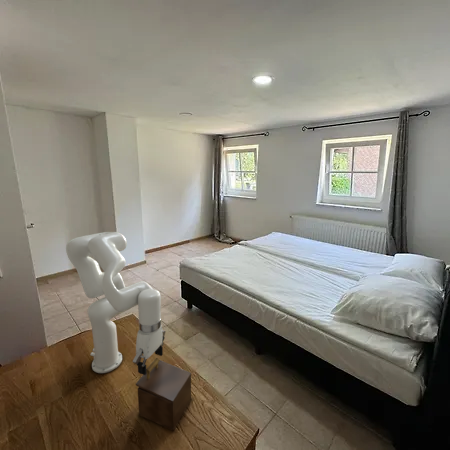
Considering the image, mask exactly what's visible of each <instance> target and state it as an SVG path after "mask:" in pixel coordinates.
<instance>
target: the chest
mask: <svg viewBox="0 0 450 450" xmlns="http://www.w3.org/2000/svg"><path fill="white" fill-rule="evenodd" d="M191 400H192V374H191V375H190V377H189V379H188V380H187V382H186V383H185V385H184V386H183V388H182V390H181V391H180V393H179V394H178V396H177V397H176V399H175V401H174V402H173V403H172V402H170V401H167V400H165V399H163V398H161V397H159V396H157V395H155V394H153V393H151V392H148V391H146V390H144V389H142V388H140V387H137V401H138V416H140V417H142V418H145V419H147V420H149V421H151V422H154V423H156V424H158V425H159V426H162V427H164V428H167V429H168V430H171V431H175V429H176V427H177V425H178V424H179V422H180V420H181V418H182V416H183V414H184V413H185V411H186V410H187V408H188V406H189V405H190V402H191Z"/></svg>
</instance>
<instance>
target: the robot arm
mask: <svg viewBox="0 0 450 450" xmlns="http://www.w3.org/2000/svg"><path fill="white" fill-rule="evenodd" d="M127 245H128V241H127V239H126V237H125V236H124V235H123V234H122V233H121V232H118V231H104V232H97V233H93V234H85V235H82V236H78V237H74V238H72V239H70V240H69V241H68V242H67V243H66V246H65V251H66V255H67V258H68V260H69V262H70V263H71V264H72V265H73V267H74V268H75V270H76V271H77V274H78V275H77V276H78V277H79V280H80V284H81V286H82V289H83V292H84V293H85V296H86V297H87V298H88V299H96V298H98V297H99V298H100V297H102V296H103V295H104V297H102V298H100V299H98V300H95V301H94V302H92V303H91V304H90V305H89V306H88V308H87V311H86V312H87V316H88V319H89V323H90V326H91V332H92V342H93V348H92V352H90V354H89V355H90V356H91V357H93V360H92V362H91V369H92V371H94V372H95V373H98V374H106V373H110V372H112V371H114V370H115V369H117V368H118V367H119V366H120V365H121V363H122V361H123V355H122V353H121V352H120V351H119V345H118V333H117V332H118V331H117V325H116V323H115V322H114V321H112V319H113V318H115V317H116V316H119V315H120V314H122V313H124V312H126V311H128V310H130V309H133V308H134V307H137V308H138V331H137V333H136V341H135V356H134V357H133V360H132V363H133V365H134V366H137V372H138V374H140V375H142V376H143V375H146V369H147V360H148V359H150V358H151V356H152V355H154V354H155V355H157V356H160V357H162V356H163V355H164V354H163V353H164V351H163V349H164V347H163V346H164V345H165V344H164V341H165V336H166V332H167V331H166V330H164V329H163V325H162V296H161V292H160V291H159V290H157V289H155V288H153V287H152V286H151V285H150V284H149V283H148V282H147V281H144V280H141V281H138V282H135V283H133V284H129V285H128V286H126V285H125V282H124V279H123V276H122V275H121V274H120V273H121V271H122V270H124V268H125V266H126V265H127V261H126V259H125V258H124V256H123V255H122V254H121V252H122V251H124V250H126V248H127ZM91 256H92V257H91ZM142 359H143V360H142Z"/></svg>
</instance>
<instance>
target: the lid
mask: <svg viewBox="0 0 450 450" xmlns="http://www.w3.org/2000/svg"><path fill="white" fill-rule="evenodd" d="M190 375H191V376H192V372H189V371H187V370H185V369H184V368H183V369H182V368H181V367H178V366H175V365H173V364H171V363H168V362H167V361H164V360H161V359H160V358H158V357H156V358H155V359H154V360H153V361H152V362H151V363H150V364H149V366H148V367H146V375H143V374H142V376H141V377H140V378H139V379H138V380H137V382H136V383H135V386H136V387H137V388H139V387H140V388H142V389H144V390H146V391H148V392H151V393H153V394H155V395H157V396H159V397H161V398H163V399H165V400H167V401H170V402H172V403H173V402H174V401H175V399H176V397H177V396H178V394H179V393H180V391H181V390H182V388H183V386H184V385H185V383H186V382H187V380H188V379H189V377H190Z"/></svg>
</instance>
